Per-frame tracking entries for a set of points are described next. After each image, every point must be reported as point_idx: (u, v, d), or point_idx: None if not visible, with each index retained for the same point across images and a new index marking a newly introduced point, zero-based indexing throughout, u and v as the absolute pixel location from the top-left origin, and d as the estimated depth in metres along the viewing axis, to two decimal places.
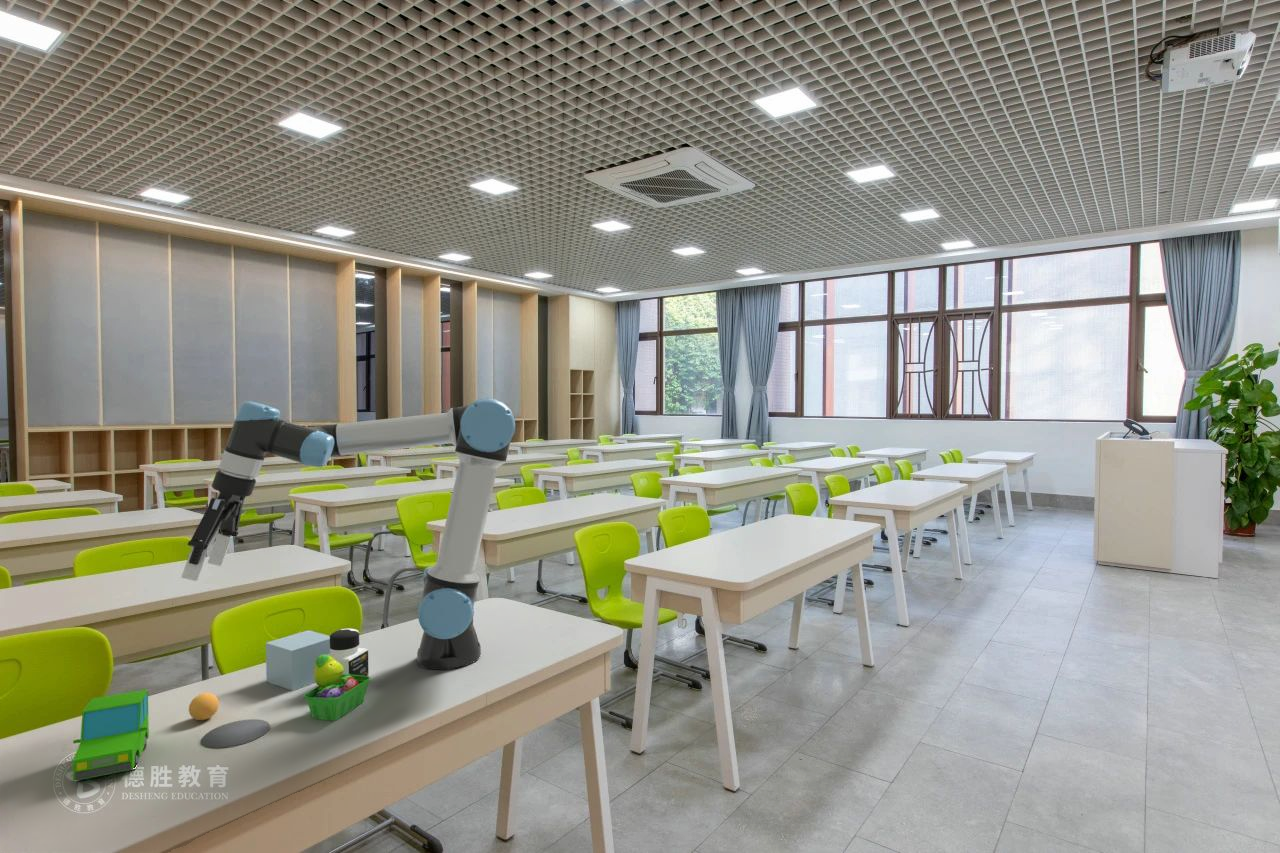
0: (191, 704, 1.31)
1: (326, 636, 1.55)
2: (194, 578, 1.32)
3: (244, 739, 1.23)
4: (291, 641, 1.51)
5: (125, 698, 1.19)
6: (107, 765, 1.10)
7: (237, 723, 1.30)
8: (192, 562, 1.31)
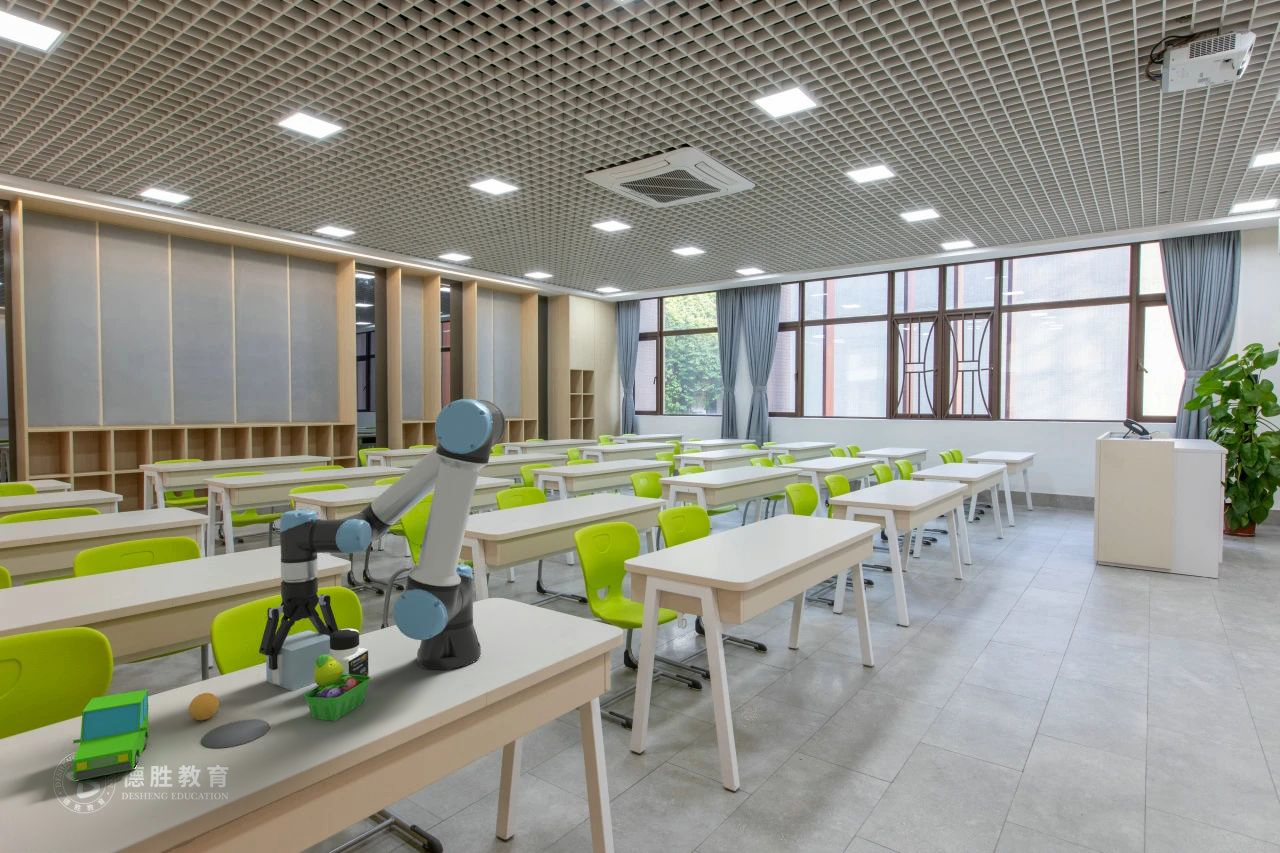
0: (191, 704, 1.31)
1: (326, 636, 1.55)
2: (278, 682, 1.47)
3: (244, 739, 1.23)
4: (291, 641, 1.51)
5: (125, 698, 1.19)
6: (107, 765, 1.10)
7: (237, 723, 1.30)
8: (270, 668, 1.47)
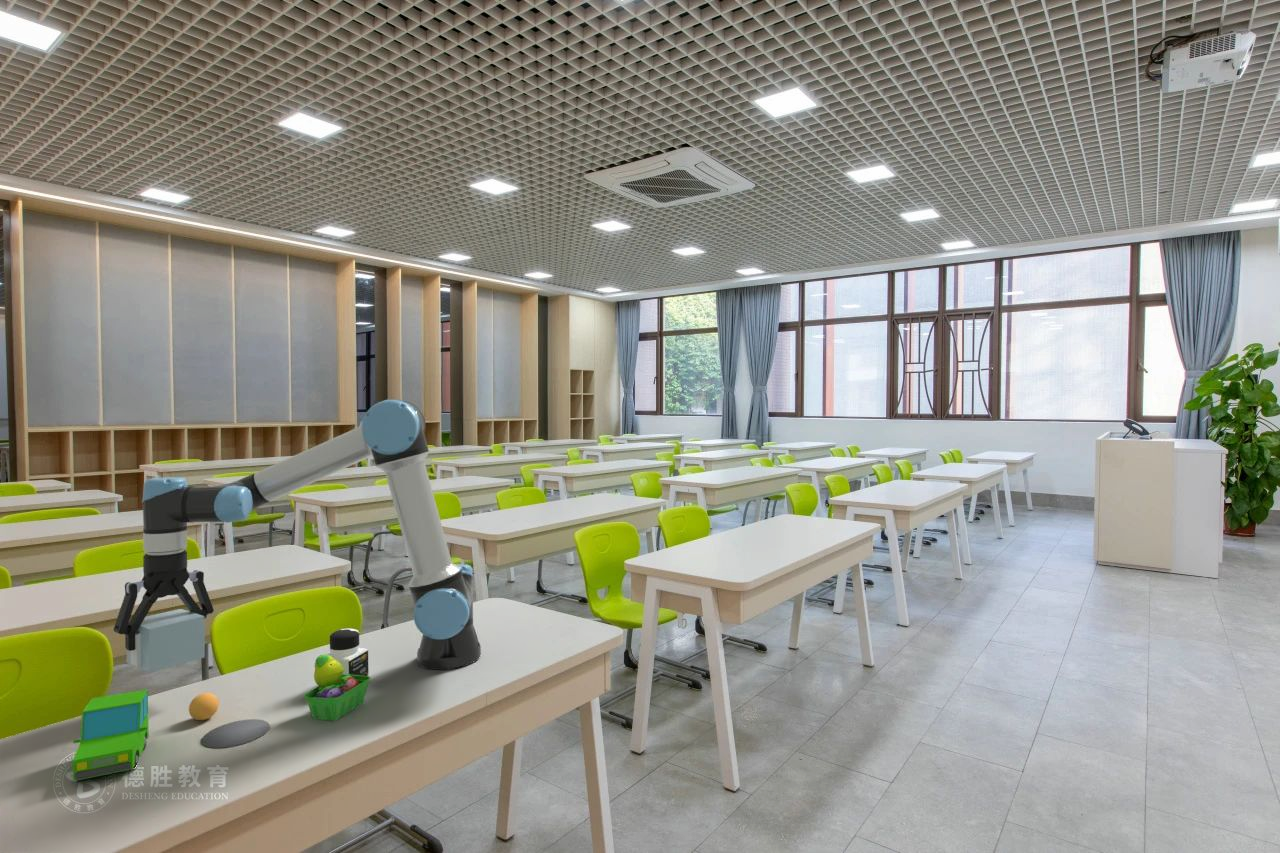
0: (191, 704, 1.31)
1: (196, 615, 1.42)
2: (135, 664, 1.34)
3: (244, 739, 1.23)
4: (154, 620, 1.39)
5: (125, 698, 1.19)
6: (107, 765, 1.10)
7: (237, 723, 1.30)
8: (127, 648, 1.34)
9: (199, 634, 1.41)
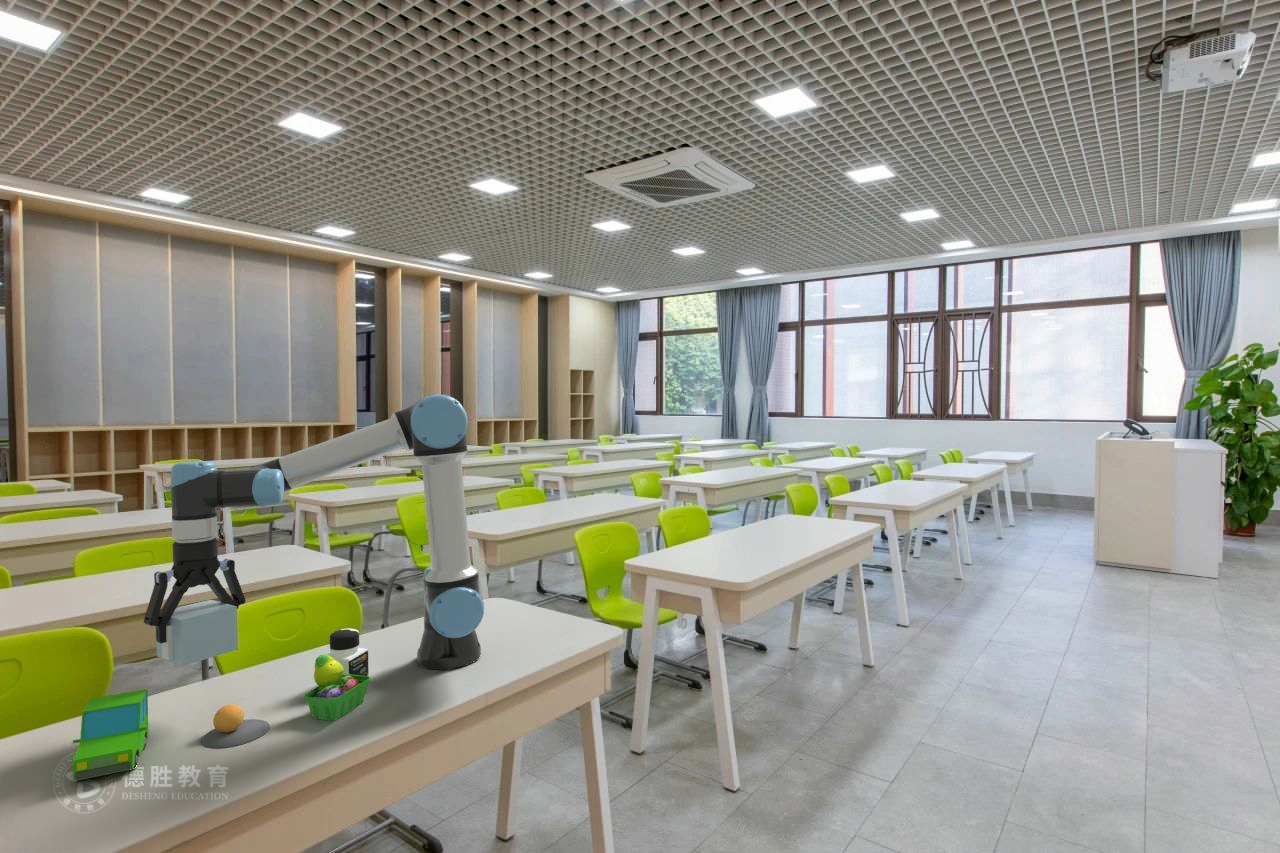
0: None
1: (228, 605, 1.35)
2: (167, 657, 1.28)
3: (244, 739, 1.23)
4: (185, 611, 1.32)
5: (125, 698, 1.19)
6: (107, 765, 1.10)
7: None
8: (158, 641, 1.27)
9: (232, 625, 1.34)
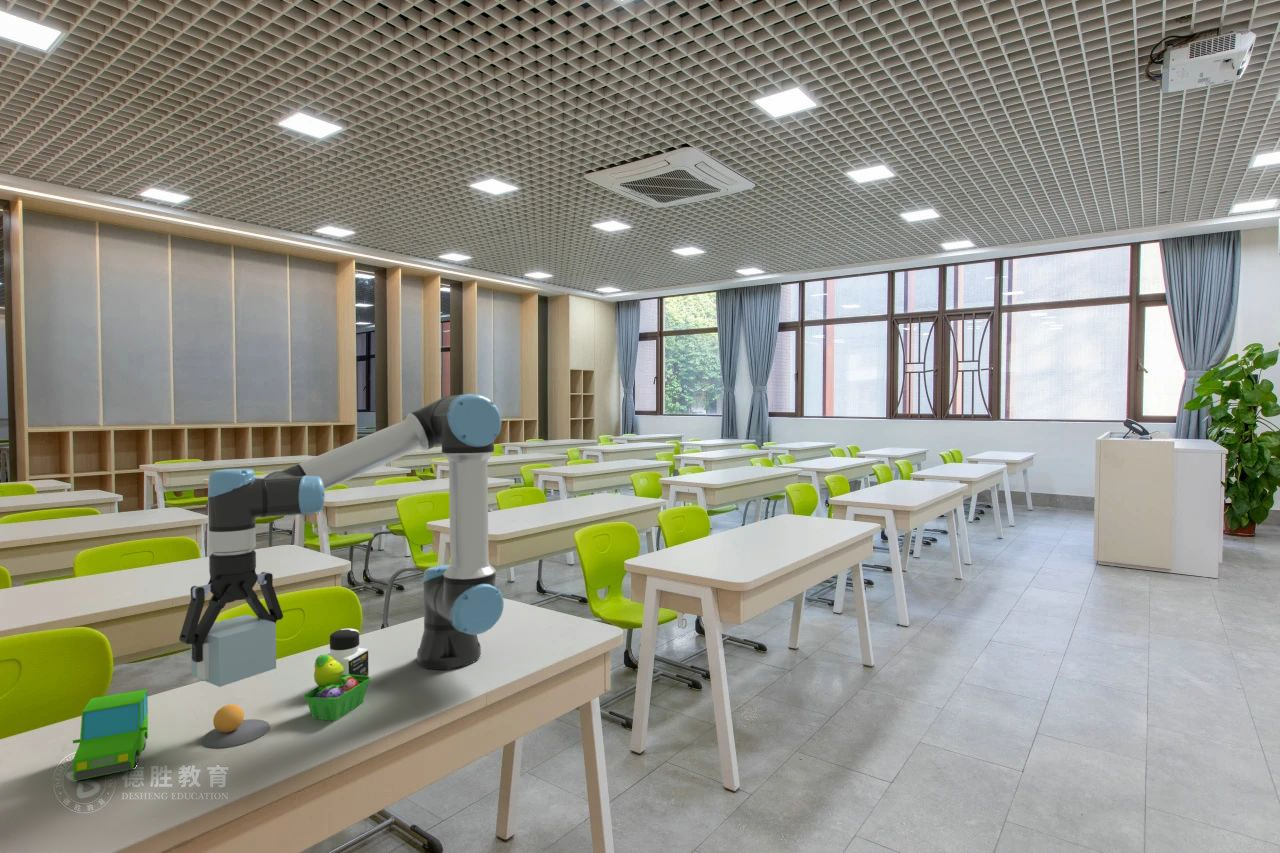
0: None
1: (266, 621, 1.28)
2: (203, 677, 1.20)
3: (244, 739, 1.23)
4: (221, 627, 1.25)
5: (125, 698, 1.19)
6: (107, 765, 1.10)
7: None
8: (194, 660, 1.20)
9: (270, 643, 1.27)
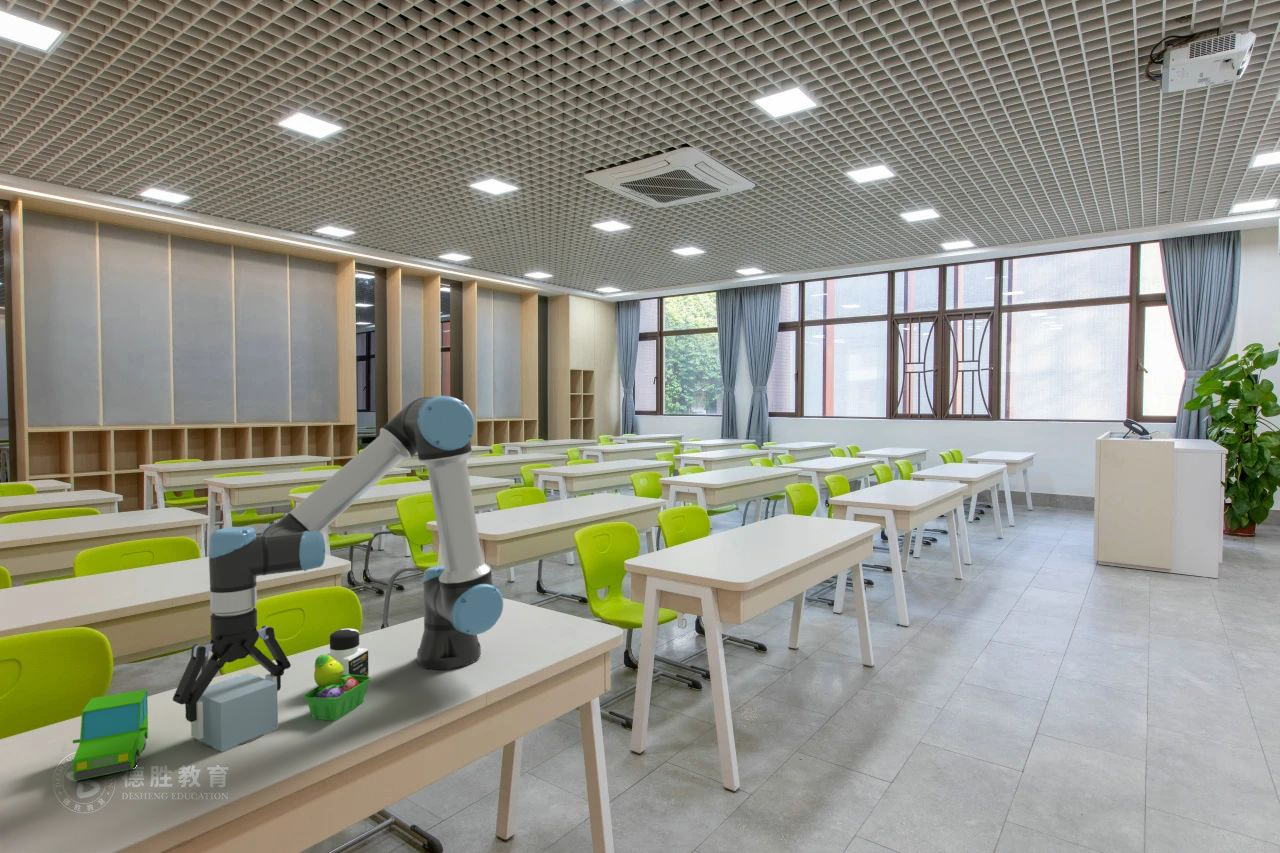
0: None
1: (267, 682, 1.28)
2: (197, 736, 1.20)
3: None
4: (223, 689, 1.25)
5: (124, 698, 1.19)
6: (107, 765, 1.10)
7: None
8: (187, 719, 1.19)
9: (272, 704, 1.27)
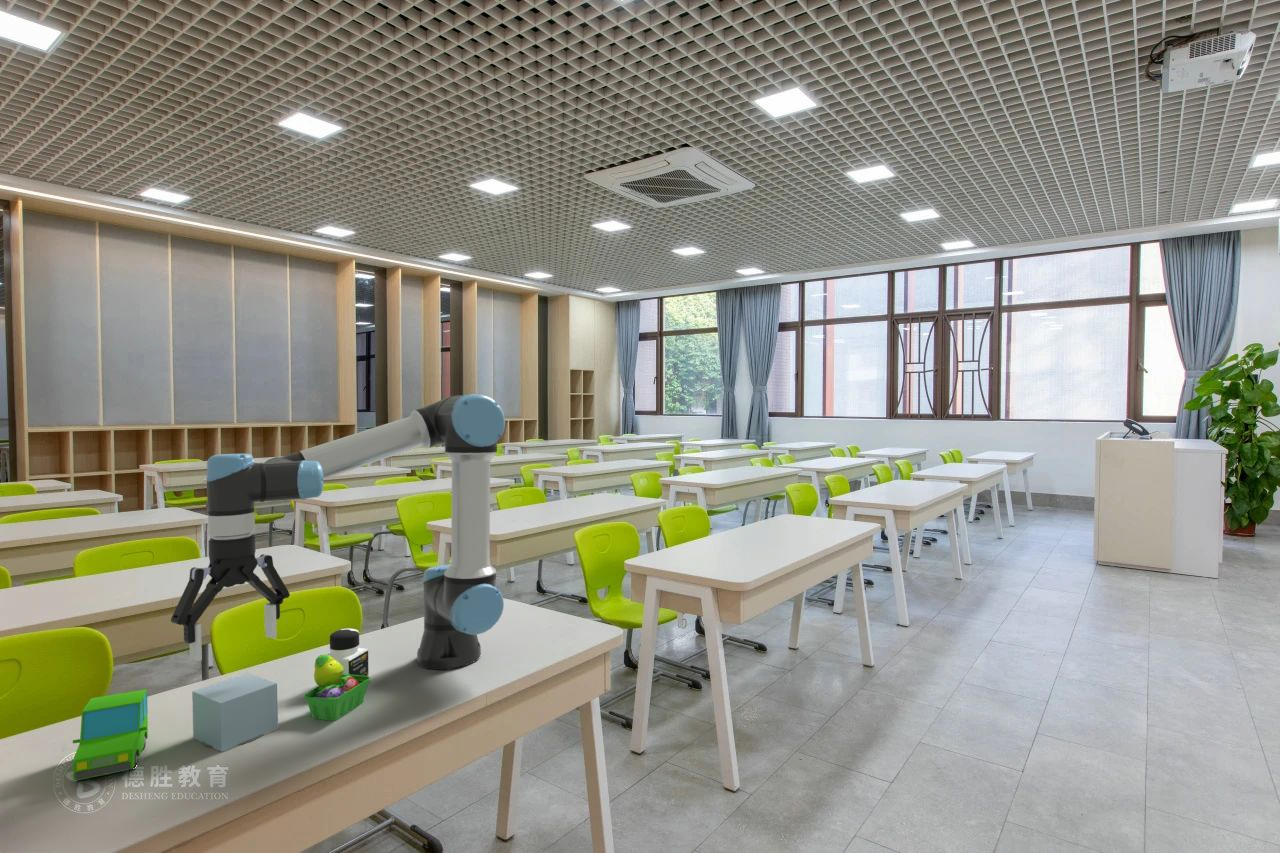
0: None
1: (267, 682, 1.28)
2: (196, 658, 1.19)
3: None
4: (223, 689, 1.25)
5: (124, 698, 1.19)
6: (107, 765, 1.10)
7: None
8: (186, 641, 1.19)
9: (272, 704, 1.27)
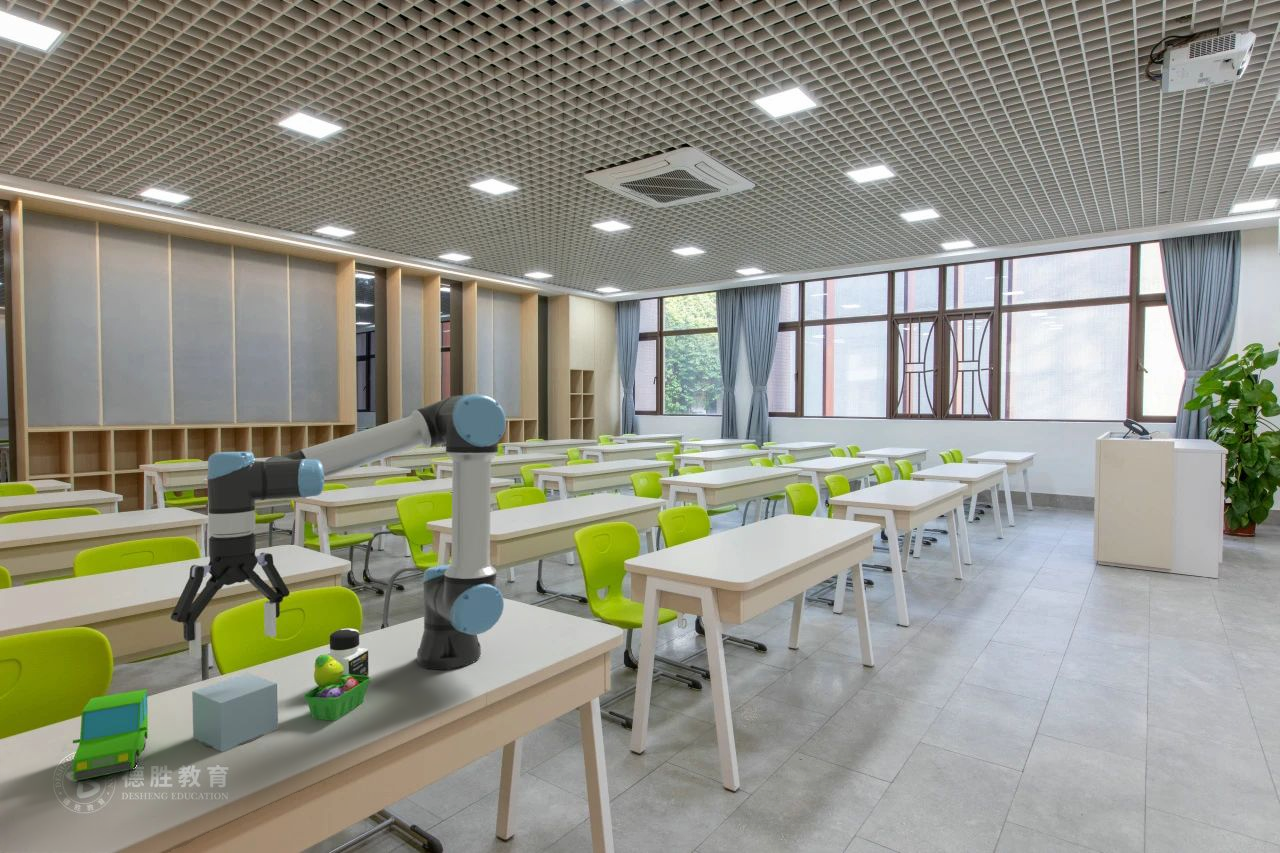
0: None
1: (267, 682, 1.28)
2: (195, 656, 1.19)
3: None
4: (223, 689, 1.25)
5: (124, 698, 1.19)
6: (107, 765, 1.10)
7: None
8: (185, 639, 1.19)
9: (272, 704, 1.27)
